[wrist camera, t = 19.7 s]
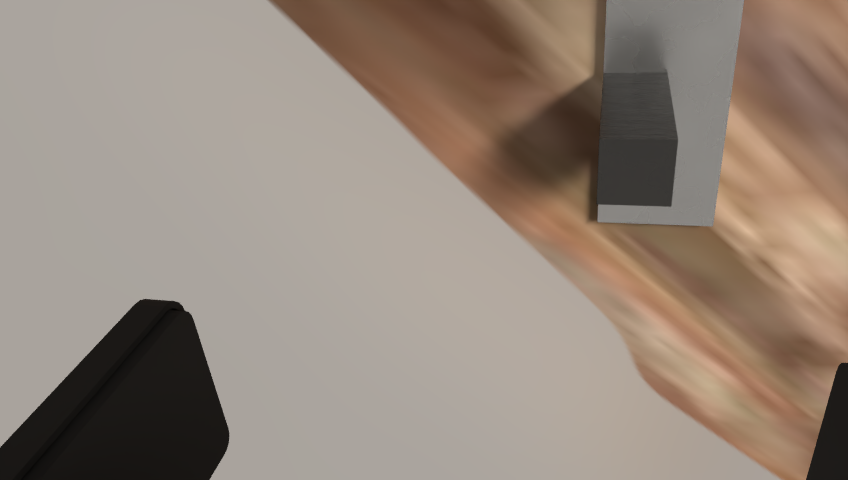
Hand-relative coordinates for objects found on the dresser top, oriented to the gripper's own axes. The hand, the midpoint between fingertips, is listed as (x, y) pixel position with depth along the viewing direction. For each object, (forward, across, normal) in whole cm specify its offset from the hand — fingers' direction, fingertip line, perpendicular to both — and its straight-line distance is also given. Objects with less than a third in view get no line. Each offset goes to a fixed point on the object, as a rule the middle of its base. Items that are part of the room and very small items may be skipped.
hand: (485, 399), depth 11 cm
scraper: (+29, -4, +6) cm, 30 cm away
